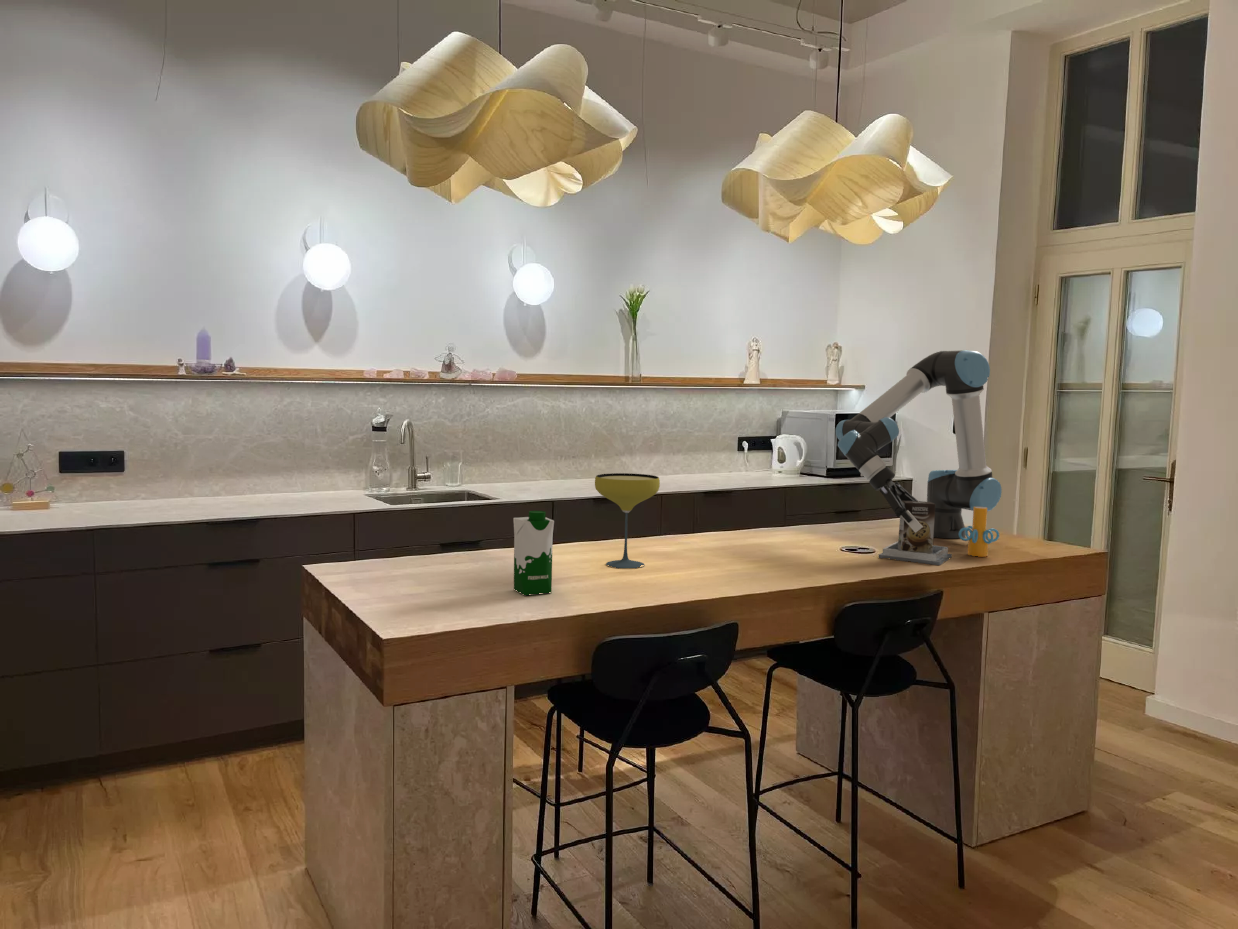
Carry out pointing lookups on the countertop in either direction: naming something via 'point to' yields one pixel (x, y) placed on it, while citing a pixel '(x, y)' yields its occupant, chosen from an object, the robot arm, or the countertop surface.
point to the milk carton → (533, 553)
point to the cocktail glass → (626, 500)
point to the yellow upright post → (978, 533)
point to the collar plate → (916, 555)
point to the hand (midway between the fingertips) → (924, 527)
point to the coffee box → (922, 537)
